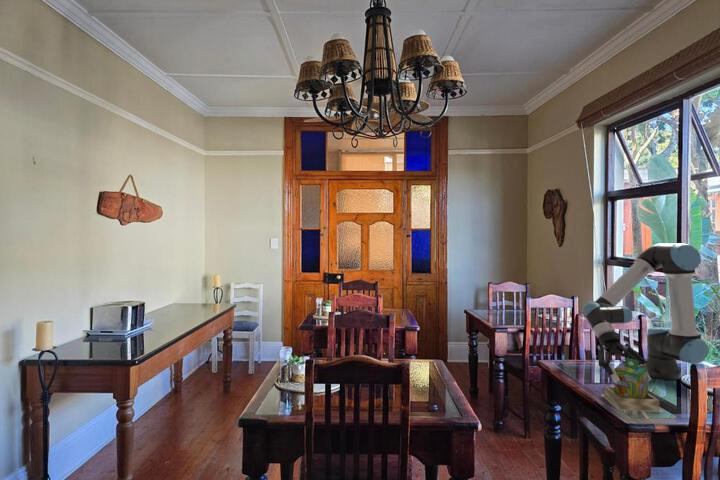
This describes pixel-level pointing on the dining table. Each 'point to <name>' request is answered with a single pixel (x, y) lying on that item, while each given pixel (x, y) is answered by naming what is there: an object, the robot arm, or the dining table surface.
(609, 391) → the tray
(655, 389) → the dining table surface
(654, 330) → the robot arm
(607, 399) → the mat
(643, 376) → the chalk box
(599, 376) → the dining table surface
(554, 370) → the dining table surface
